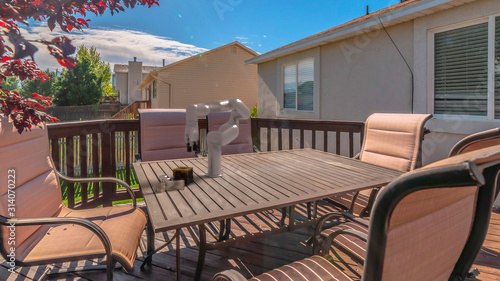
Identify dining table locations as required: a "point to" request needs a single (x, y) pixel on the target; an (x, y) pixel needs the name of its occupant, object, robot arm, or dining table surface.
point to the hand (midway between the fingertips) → (192, 151)
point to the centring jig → (170, 186)
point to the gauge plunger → (165, 177)
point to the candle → (183, 175)
